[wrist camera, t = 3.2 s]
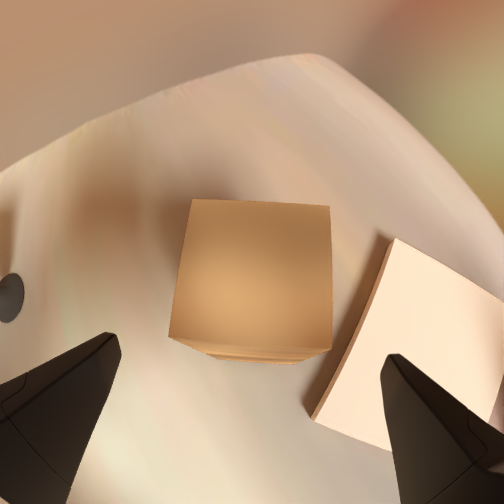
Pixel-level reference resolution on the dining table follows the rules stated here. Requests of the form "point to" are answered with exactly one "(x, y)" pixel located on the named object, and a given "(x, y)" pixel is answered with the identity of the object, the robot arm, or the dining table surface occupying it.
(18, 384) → the robot arm
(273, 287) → the oak block
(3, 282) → the sundae
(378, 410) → the plate
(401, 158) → the dining table surface
